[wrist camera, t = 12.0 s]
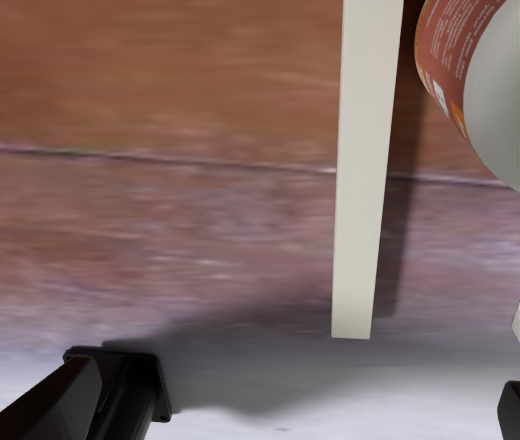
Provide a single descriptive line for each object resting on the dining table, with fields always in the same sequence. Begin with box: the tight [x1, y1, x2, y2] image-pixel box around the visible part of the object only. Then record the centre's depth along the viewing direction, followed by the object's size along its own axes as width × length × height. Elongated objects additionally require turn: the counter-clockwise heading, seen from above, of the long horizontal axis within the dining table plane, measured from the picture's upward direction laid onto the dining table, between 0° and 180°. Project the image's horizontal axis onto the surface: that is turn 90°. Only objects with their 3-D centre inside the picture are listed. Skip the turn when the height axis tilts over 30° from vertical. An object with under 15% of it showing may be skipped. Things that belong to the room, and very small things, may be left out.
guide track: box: [331, 0, 520, 343], centre depth 17 cm, size 20×12×5 cm, turn 3°
